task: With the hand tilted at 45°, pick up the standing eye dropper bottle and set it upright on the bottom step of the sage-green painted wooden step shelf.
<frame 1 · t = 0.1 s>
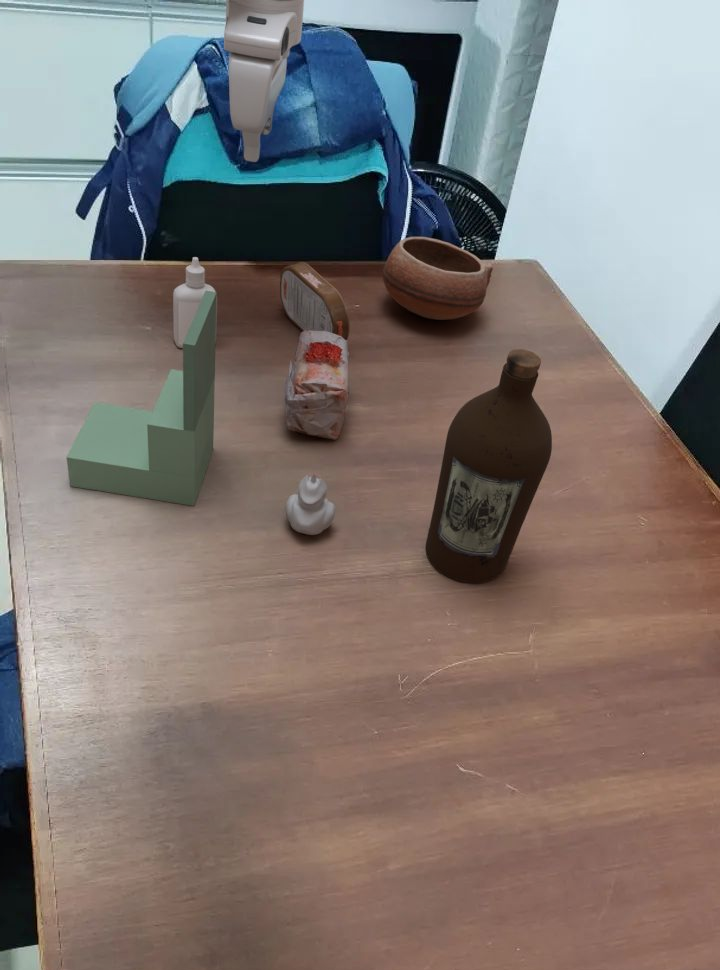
hand: (257, 145, 116), 23 cm above the table, tool pointing down, fingers open, 8 cm apart
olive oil: (464, 556, 103), on the table
tin: (309, 334, 132), on the table
food item: (314, 414, 118), on the table
eye dropper bottle: (194, 344, 126), on the table
rubber duck: (308, 525, 103), on the table
bowl: (428, 313, 141), on the table
step shelf: (144, 467, 106), on the table
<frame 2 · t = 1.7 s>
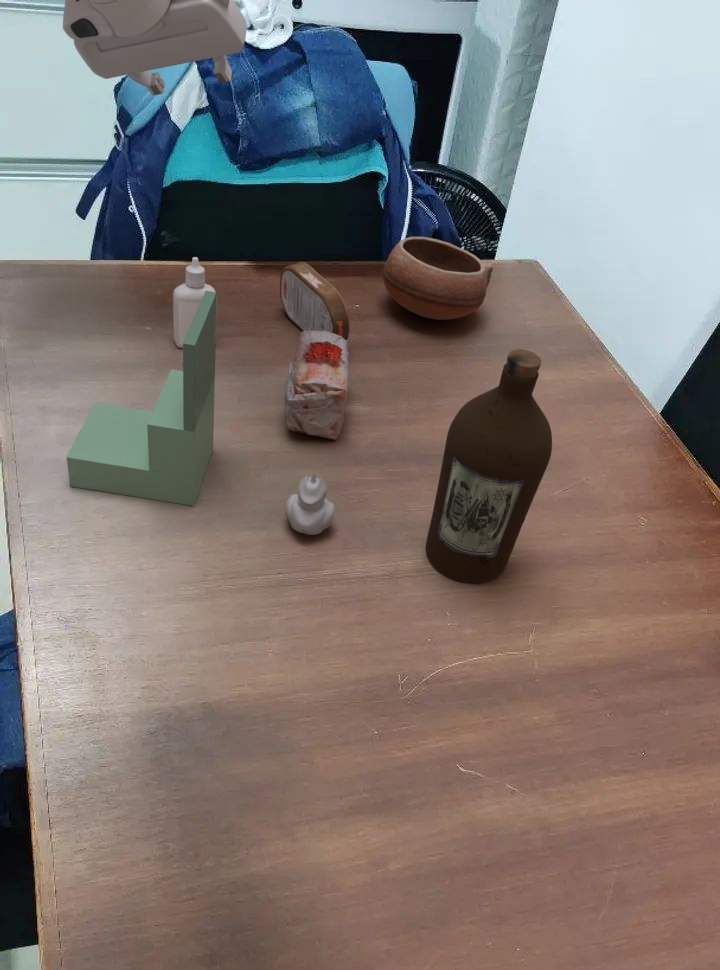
hand: (192, 83, 113), 28 cm above the table, tool tilted 40°, fingers open, 8 cm apart
nothing on the table moved.
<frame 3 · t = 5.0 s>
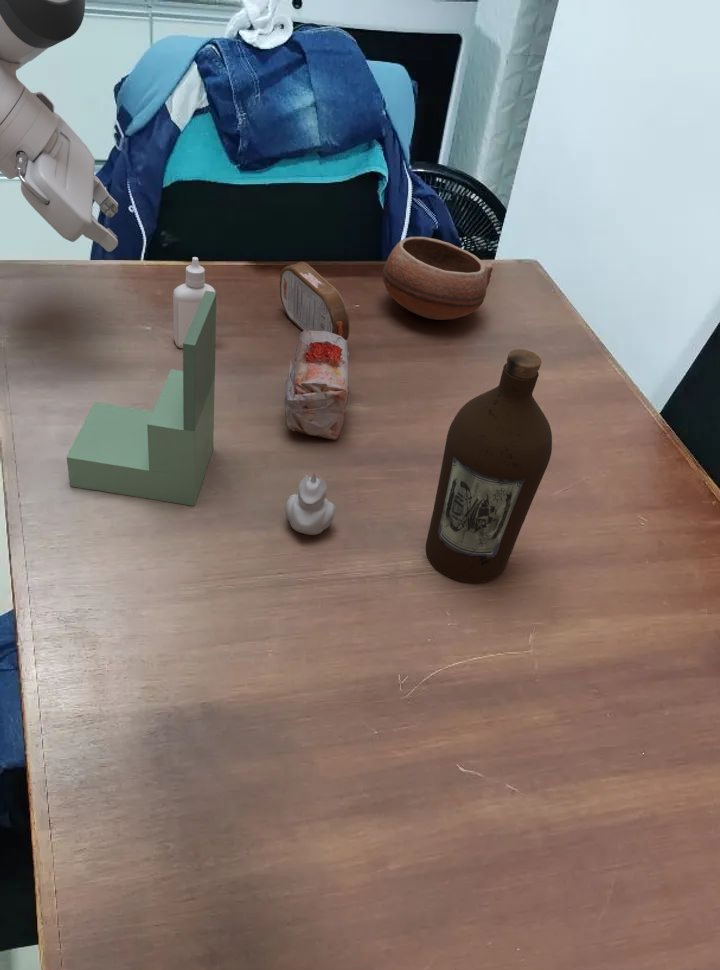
hand: (114, 228, 113), 15 cm above the table, tool tilted 45°, fingers open, 8 cm apart
nothing on the table moved.
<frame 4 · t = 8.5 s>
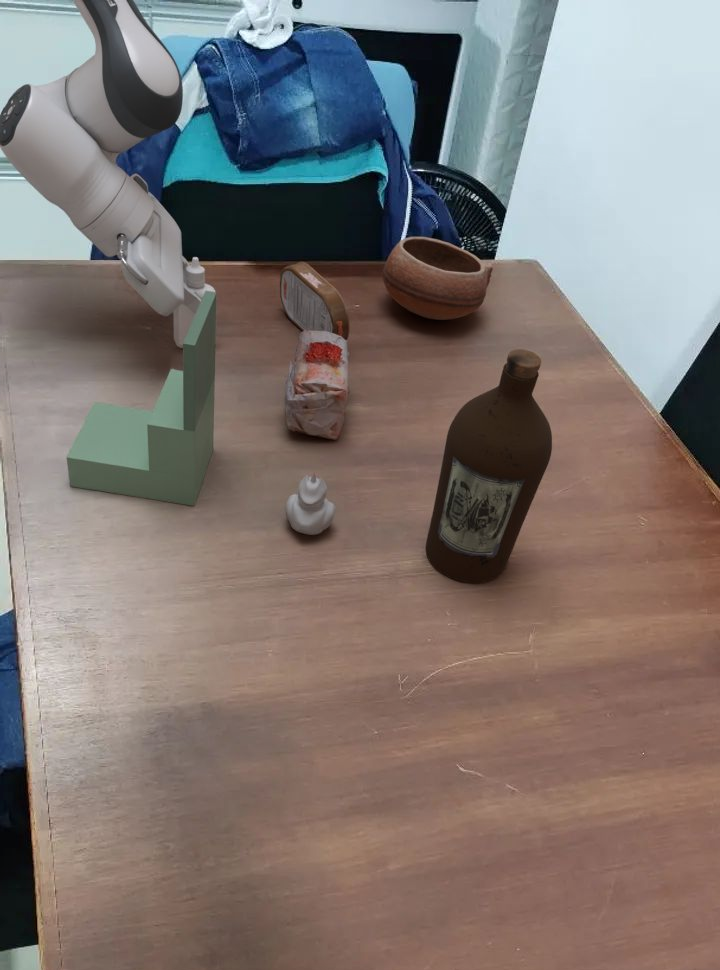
hand: (200, 298, 121), 7 cm above the table, tool tilted 45°, fingers closed on eye dropper bottle, 3 cm apart
eye dropper bottle: (195, 344, 126), on the table, touching gripper
everything else where it was.
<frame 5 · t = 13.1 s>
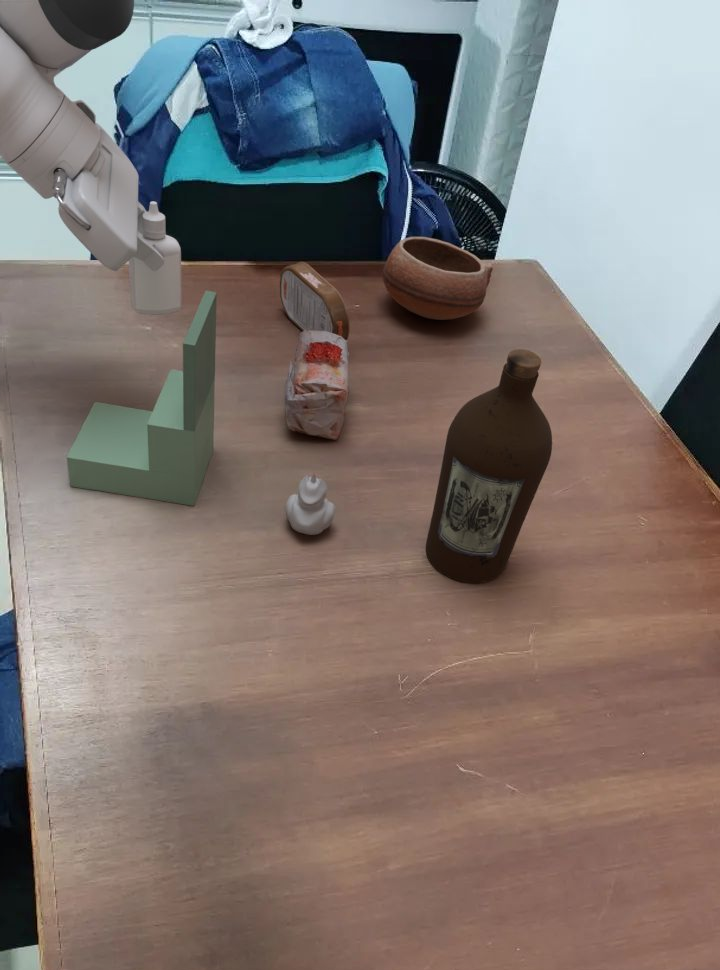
hand: (160, 253, 101), 19 cm above the table, tool tilted 45°, fingers closed on eye dropper bottle, 3 cm apart
eye dropper bottle: (156, 309, 106), point 13 cm above the table, touching gripper
everything else where it was.
when the fingers open (10 cm above the table, at t = 17.8 s): eye dropper bottle stays where it is, resting on step shelf.
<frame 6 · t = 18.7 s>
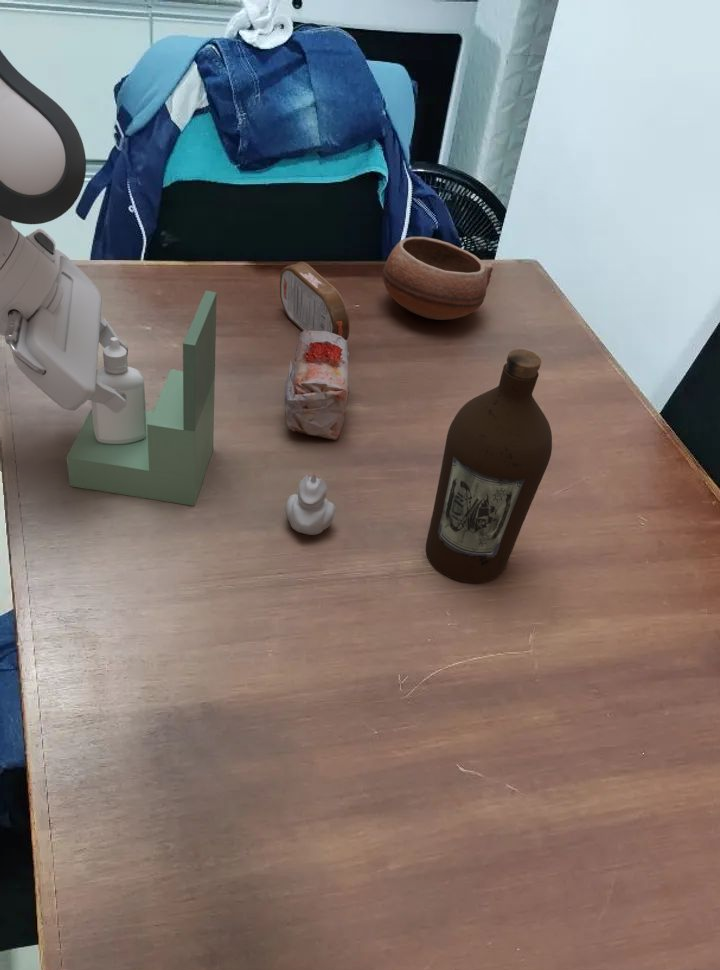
hand: (123, 380, 98), 11 cm above the table, tool tilted 45°, fingers open, 8 cm apart
eye dropper bottle: (120, 437, 103), point 4 cm above the table, touching step shelf
everything else where it was.
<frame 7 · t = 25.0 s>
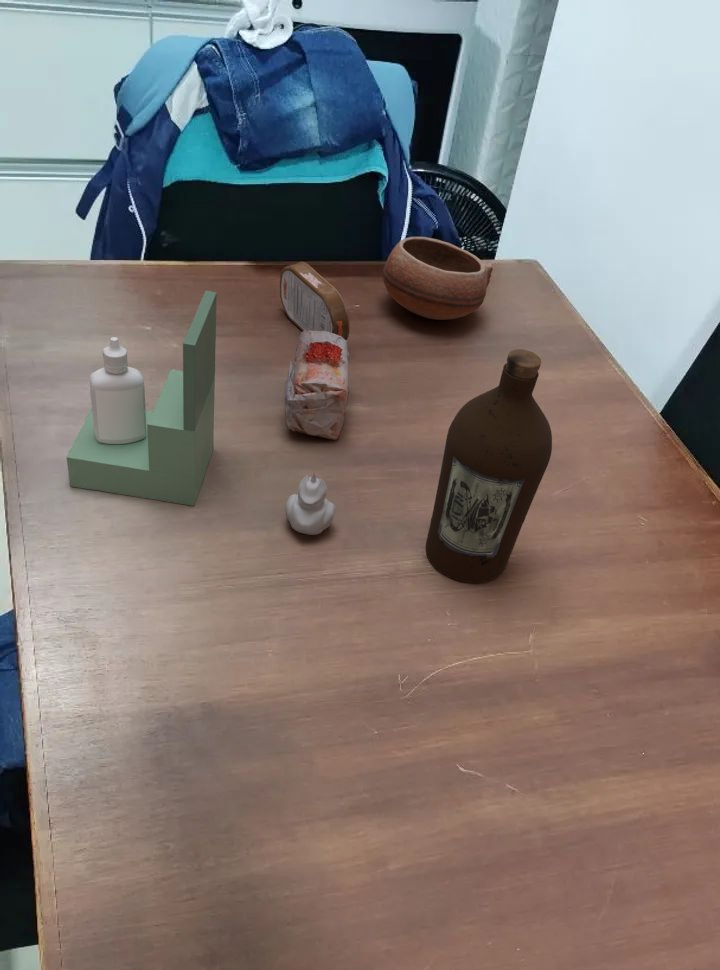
nothing on the table moved.
at the end: eye dropper bottle inside the target area on the step shelf (0.2 cm from its centre), point 3.8 cm above the step shelf's base; eye dropper bottle tilted 0°; the gripper is holding nothing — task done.
